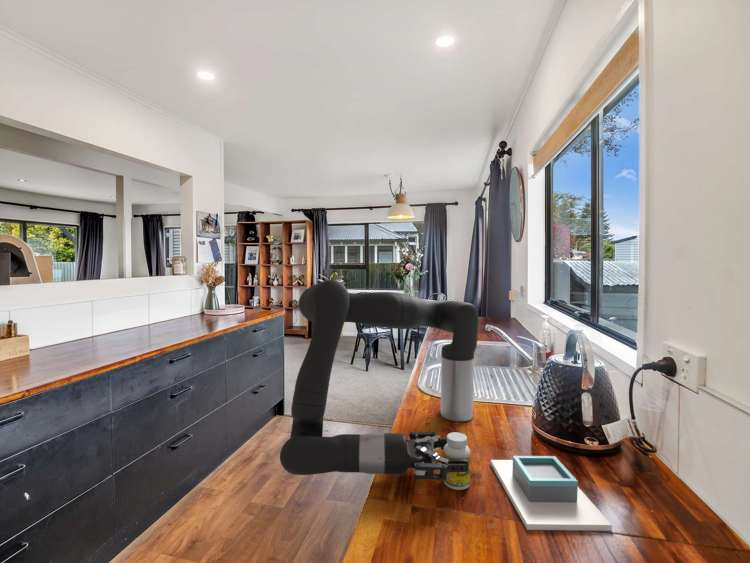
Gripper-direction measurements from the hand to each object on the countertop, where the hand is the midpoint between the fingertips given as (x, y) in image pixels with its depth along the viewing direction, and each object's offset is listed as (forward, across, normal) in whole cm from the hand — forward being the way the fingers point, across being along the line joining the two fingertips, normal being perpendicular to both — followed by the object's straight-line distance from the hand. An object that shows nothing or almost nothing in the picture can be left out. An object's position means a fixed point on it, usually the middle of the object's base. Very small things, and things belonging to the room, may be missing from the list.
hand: (463, 453), depth 74 cm
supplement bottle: (-1, 0, +6) cm, 6 cm away
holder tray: (+15, -3, +6) cm, 16 cm away
